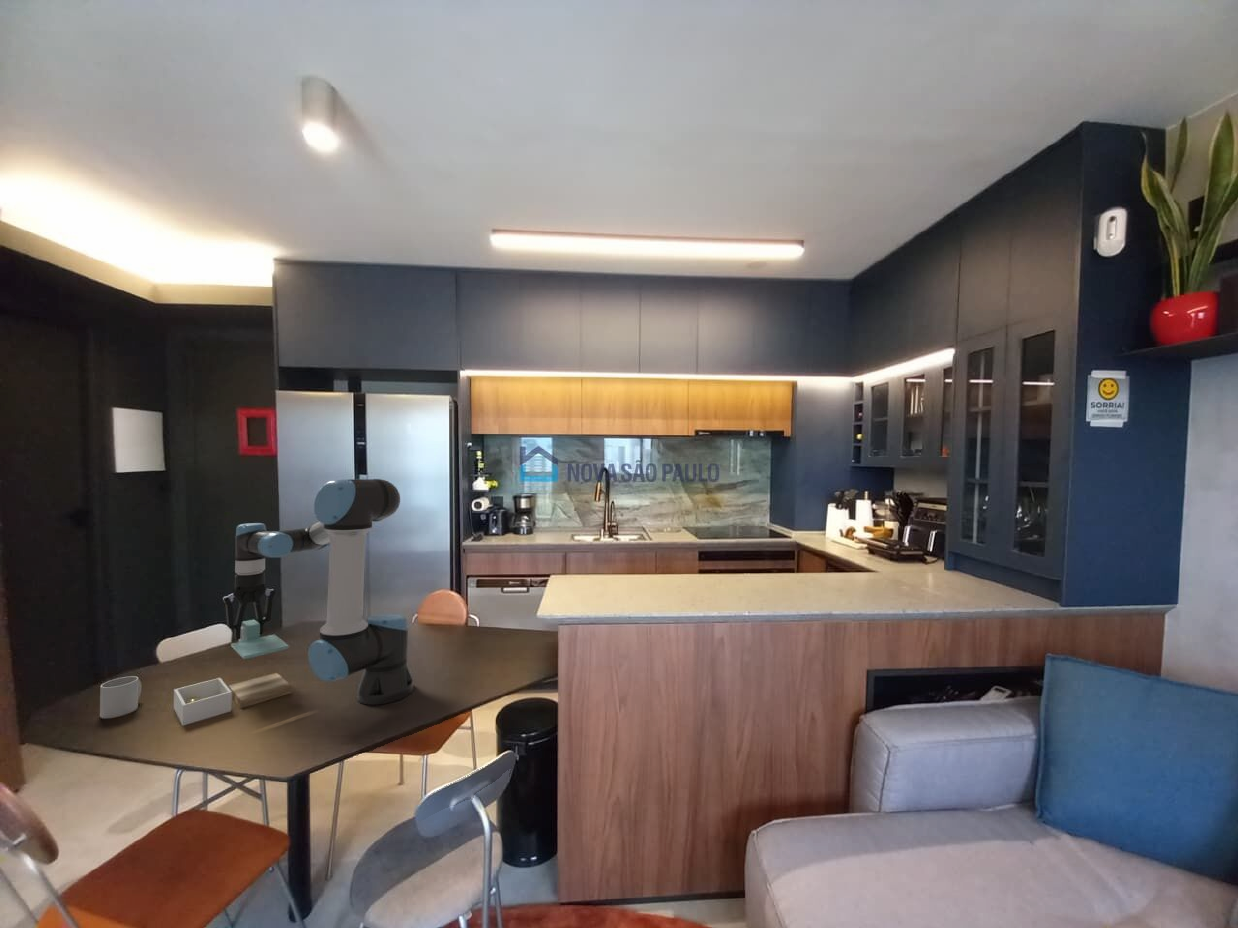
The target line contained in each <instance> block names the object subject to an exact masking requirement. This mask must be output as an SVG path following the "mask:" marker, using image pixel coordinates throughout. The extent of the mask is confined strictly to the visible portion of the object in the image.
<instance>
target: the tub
mask: <svg viewBox="0 0 1238 928" xmlns="http://www.w3.org/2000/svg"><path fill="white" fill-rule="evenodd" d="M194 697H200V700H198V701H194V702H190V703H187V700H188V699H191V698H194ZM232 701H233V698H232V692H231V690H230V689H229V686H228V685H227V684H226V682H224V681H223V679H222V678H221V677H217V678H214V679H210V680H206V681H201V682H198V683H195V684H190V685H185V686H183V687H179V688H174V689H173V710H174V712H175V714H176V716H177V718H178V720H179V721H180V724H181V725H182V726H186V725H190V724H193V723H196V722H200V721H203V720H206V719H207V720H208V719H209V718H212V717H216V716H219V715H223V714H226V713H229V712H232Z"/></svg>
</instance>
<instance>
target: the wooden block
mask: <svg viewBox="0 0 1238 928" xmlns="http://www.w3.org/2000/svg"><path fill="white" fill-rule="evenodd" d="M228 688H229V689H230V690H231V692H232V700H233V701H234V702H235V703H236V704H237V706H238V707H239V708H240V709H242V708H246V707H250V706H252V705H256V704H259V703H263V702H265V701H270V700H272V699H275V698H279V697H283V696H286V695H289V694H291V693H292V686H291V684H290V682H288V681H287V680H286V679H285V678H283V676H281V675H280V674H279V673H278V672H275V673H270V674H267V675H263V676H262V675H261V676H259V677H255V678H251V679H248V680H247V679H246V680H244V681H241V682H236V683H233V684H229V685H228Z"/></svg>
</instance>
